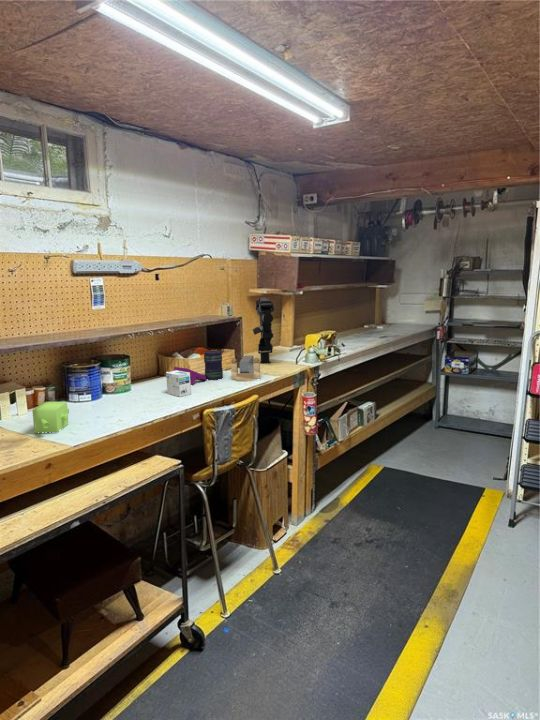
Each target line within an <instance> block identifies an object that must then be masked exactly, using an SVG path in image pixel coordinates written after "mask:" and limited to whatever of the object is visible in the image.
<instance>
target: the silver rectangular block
mask: <svg viewBox="0 0 540 720" xmlns="http://www.w3.org/2000/svg"><path fill="white" fill-rule="evenodd" d="M254 359H255V358H254V354H253V355H251V354H250V355H243V357H242V358H241V359H240V361H239V373H254V364H253V363H254Z"/></svg>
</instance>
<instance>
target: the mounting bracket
mask: <svg viewBox="0 0 540 720" xmlns="http://www.w3.org/2000/svg"><path fill="white" fill-rule="evenodd" d="M176 370H178V371H183V372H189V373H190V383H191V385H192V386H193V385H195V382H196V380H199V379H200V381H207V380H206V377H207V376H205V374H202V373H199V372H197V371H195V370H193V369H191V368H186V367H178V366H174V367H173V370H172V371H176Z"/></svg>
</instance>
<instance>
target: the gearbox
mask: <svg viewBox="0 0 540 720" xmlns="http://www.w3.org/2000/svg"><path fill="white" fill-rule="evenodd" d="M69 414H70V409H69V408H68V402H67V401H44V402H42V403H40V404H39V405H38V406H36V407H34V408H33V409H32V420H33V422H32V423H33V432H34V434H39V433H40V432H41V433H42V432H58V431H59V430H60V429H62V428H63V427H64V426H66V425H67V424H68V423H69ZM68 425H69V424H68ZM68 425H67V426H68ZM67 426H66V427H67ZM64 428H65V427H64ZM64 428H63V429H64ZM63 429H62V430H63ZM38 432H39V433H38ZM58 433H59V432H58Z"/></svg>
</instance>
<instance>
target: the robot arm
mask: <svg viewBox="0 0 540 720" xmlns="http://www.w3.org/2000/svg"><path fill="white" fill-rule="evenodd" d="M254 304H255V305H254V306H255V308H254V309H255V311H256V314H257V316H258V317H259V326H256V327H254V328H253V329H252V332H253V335H254V336H256V335H257V334H260V339H259V341H258V343H257V353H258V355H260V360H259V362H260V364H271V360H270V359H271V358H270V354H272V353H273V345H272V343H271V341H272V338H274V333H273V330H272V325H273V324H272V322H273V321H274V316H273V314H272V313H274V311H275V305H274V303H273V301H272V300H268V297H267V296H259V297H258V299H257V300H256V301H255V303H254Z"/></svg>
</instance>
